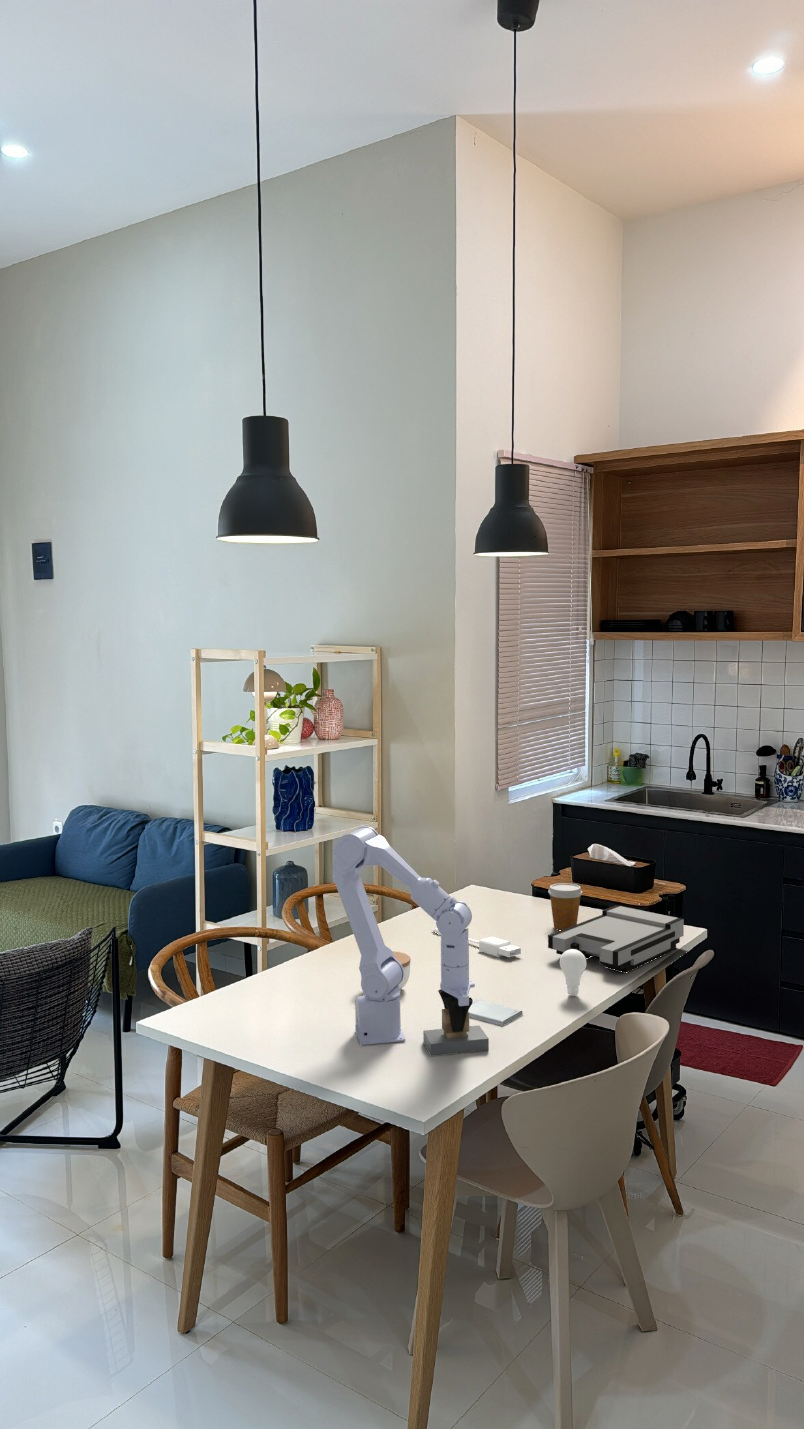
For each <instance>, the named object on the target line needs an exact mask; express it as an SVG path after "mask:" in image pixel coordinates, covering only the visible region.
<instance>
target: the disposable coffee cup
mask: <svg viewBox="0 0 804 1429" xmlns="http://www.w3.org/2000/svg"><path fill="white" fill-rule="evenodd" d="M582 894H583V890H582V888H581V886H580V885H578V884H575V883H566V882H564V883H563V882H562V883H561V882H559V883H553V884H550V885H549V889H548V895H549V897H550V898H549V899H550V905H551V915H552V922H553V928H555V929H554V930H556V929H558V930H557V931H559V930H563V929H566V928H569V927H571V926H574V925H577V924H578V919H579V918H578V917H579V910H580V902H581V896H582Z"/></svg>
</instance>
